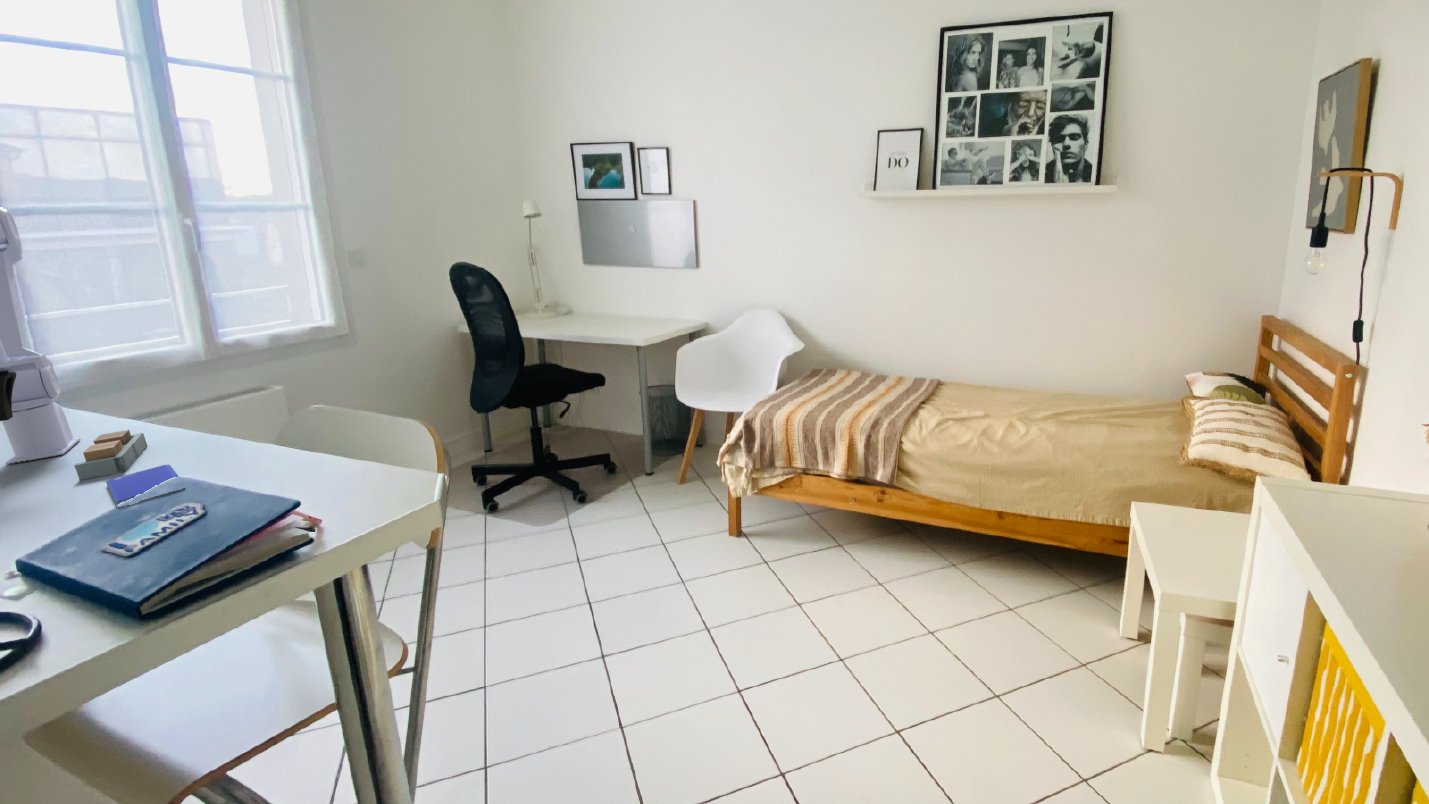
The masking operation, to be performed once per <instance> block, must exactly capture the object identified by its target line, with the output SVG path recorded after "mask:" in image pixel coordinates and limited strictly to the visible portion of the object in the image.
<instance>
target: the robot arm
mask: <svg viewBox="0 0 1429 804" xmlns="http://www.w3.org/2000/svg"><path fill="white" fill-rule="evenodd" d="M22 253H23V249H22V244H21V238H20V233H19V230H18V227H17V224H16V222H15V219H14V217H13V215H12V213H11V212H10V211H9V210H8V209H6V208H5V207H2V206H0V422H1V423H2V425H3V427H4V430H5V433H6V435H7V438H8V441H9V443H10V445H11V448H12V451H13V453H14V455H13V456H11V457H10V458H9V459H8V460H5V464H7V465H10V464H9V463H12V464H16V463H15V462H17V463H22V462H21V461H23V462H26V461H25V460H28V461H32V460H40V459H44V458H50V457H56V456H60V455H64V454H66V453H67V452H68V451H69V450H70V449H71V448H73V447H74V445H76V444H77V443H78V442H80V440H81V437H78V436H77V437H73V433H72V431H71V430H72V429H71V428H70V426H69V423H68V419H67V416H66V414H65V412H64V409H63V408H62V406H61V405H59V404H58V403H57V402H55V400H56V399H58V397H59V396H60V395H61V388H60V387H61V386H60V382H59V379H58V376H57V374H56V372H55V369H54V366H53V363H52V362H51V360H50V359H49V358H48V357H47V356H46V355H45V354H42V353H41V352H36V351H34V350H31V349H28V344H27V340H26V339H27V337H26V334H25V330H24V326H23V325H24V324H23V320H22V316H21V311H20V307H19V302H18V301H19V300H18V298H17V293H16V289H15V288H16V287H15V283H14V269H13V267H14V265H15V264H17V263H18V262H20V261H21V260H22V259H23V254H22Z"/></svg>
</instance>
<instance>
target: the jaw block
mask: <svg viewBox="0 0 1429 804" xmlns="http://www.w3.org/2000/svg"><path fill="white" fill-rule="evenodd" d="M122 449H123V446H122V443H121V440H118V441H112V442H107V443H101V444H91V445H89V446H88V447H87V448H86V449H85V450H84V451H83V452H82V453H83V457H84V460H85V462H87V461H93V460H98V459H104V458H109V457H115V456H116V455H117V454H118V453H119V452H120V451H121V450H122Z"/></svg>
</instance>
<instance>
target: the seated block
mask: <svg viewBox="0 0 1429 804" xmlns="http://www.w3.org/2000/svg"><path fill="white" fill-rule="evenodd" d="M131 435H132V434H131V431H130V430H129V429H125V430H119V431H114V432H107V433H102V434H100V435H99V436H97V438H95V439H94V440H93V445H95V444H101V443H107V442H112V441H118V440H121V443H122V445H126V444H127V443H128V442H129V441H130V440H131V439H132V437H131Z"/></svg>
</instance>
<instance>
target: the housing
mask: <svg viewBox="0 0 1429 804" xmlns="http://www.w3.org/2000/svg"><path fill="white" fill-rule="evenodd" d="M131 437H132V439H131V440H130V441H129V442H128V443H127V444H126V445H122V446H123V449H122V450H121V451H120V452H119V453H118V454H117V455H116V456H115V457H109V458H104V459H98V460H93V461H87V462H86V461H82V462H77V463H75V464H74V468H75V471H76V473H77V476H78V477H77V478H78V479H79V481H83V480H88V479H93V478H98V477H103V476H109V475H114V474H119V473H124V472H127V470H129V468H130V467H131V466H132V465H133V464H134V462H136V460H137V459H138V458H139V456H141V454H142V453H143V452H144V450H146V448H147V447H148V443H147V441H146V437H145V435H144V432H139V433H135V434H131Z"/></svg>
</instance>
